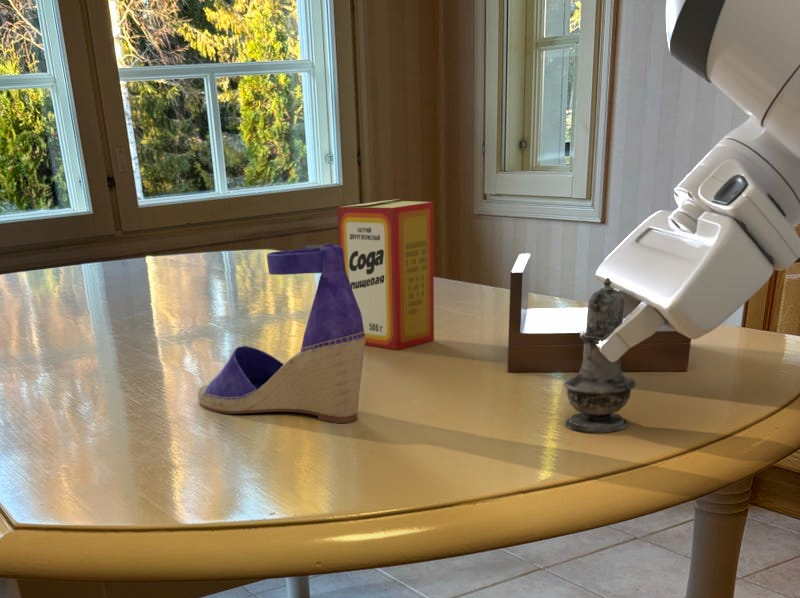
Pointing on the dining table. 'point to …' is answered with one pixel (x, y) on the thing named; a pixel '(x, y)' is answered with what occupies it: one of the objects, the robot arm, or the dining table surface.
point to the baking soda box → (391, 269)
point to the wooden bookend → (576, 337)
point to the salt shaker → (599, 370)
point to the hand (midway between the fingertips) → (594, 349)
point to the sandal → (302, 351)
